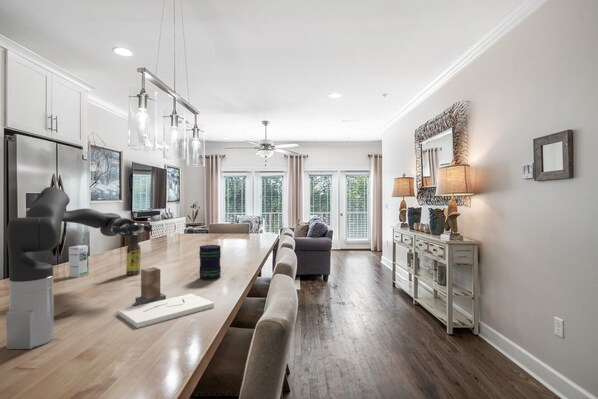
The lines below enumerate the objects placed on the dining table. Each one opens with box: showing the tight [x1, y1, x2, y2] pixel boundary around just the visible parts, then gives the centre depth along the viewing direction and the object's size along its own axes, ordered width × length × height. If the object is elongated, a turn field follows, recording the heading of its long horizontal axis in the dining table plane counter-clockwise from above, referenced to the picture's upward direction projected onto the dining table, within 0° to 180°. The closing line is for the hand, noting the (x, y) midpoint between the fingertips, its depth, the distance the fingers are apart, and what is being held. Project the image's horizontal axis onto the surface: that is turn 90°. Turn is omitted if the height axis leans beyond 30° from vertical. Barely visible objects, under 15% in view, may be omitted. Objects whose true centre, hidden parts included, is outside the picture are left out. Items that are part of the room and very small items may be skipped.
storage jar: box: [198, 244, 222, 281], centre depth 160 cm, size 10×10×15 cm
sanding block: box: [135, 267, 167, 306], centre depth 124 cm, size 9×5×12 cm, turn 136°
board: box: [117, 293, 215, 329], centre depth 114 cm, size 26×16×2 cm, turn 136°
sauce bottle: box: [125, 233, 141, 276], centre depth 168 cm, size 6×6×20 cm
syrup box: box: [68, 244, 90, 278], centre depth 164 cm, size 6×6×14 cm
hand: (138, 230), depth 131 cm, fingers open, 8 cm apart
